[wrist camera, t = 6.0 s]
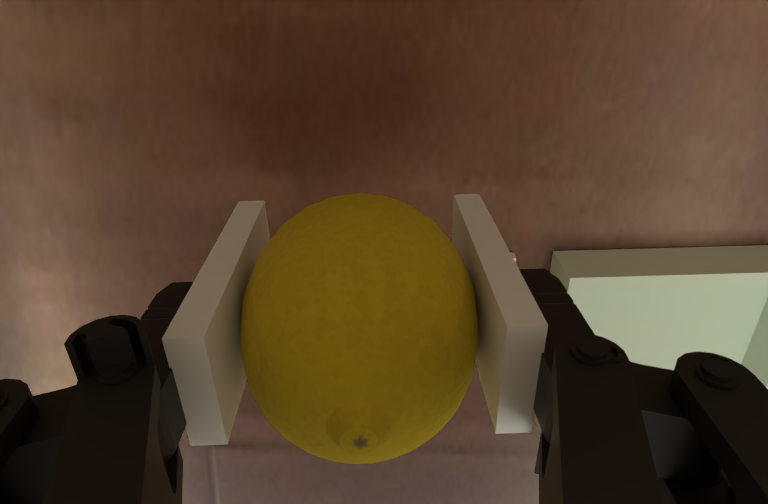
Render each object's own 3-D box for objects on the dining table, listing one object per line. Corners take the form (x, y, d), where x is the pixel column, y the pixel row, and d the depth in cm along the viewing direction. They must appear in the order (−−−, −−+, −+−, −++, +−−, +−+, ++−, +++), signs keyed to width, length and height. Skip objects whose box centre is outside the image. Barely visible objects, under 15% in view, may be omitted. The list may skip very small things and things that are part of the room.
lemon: (446, 312, 18) (501, 539, 10) (280, 316, 17) (222, 548, 10) (455, 152, 15) (537, 307, 8) (261, 155, 15) (166, 316, 8)
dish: (529, 403, 31) (541, 438, 29) (552, 251, 26) (570, 277, 24) (729, 397, 31) (757, 431, 29) (789, 244, 26) (829, 270, 24)
